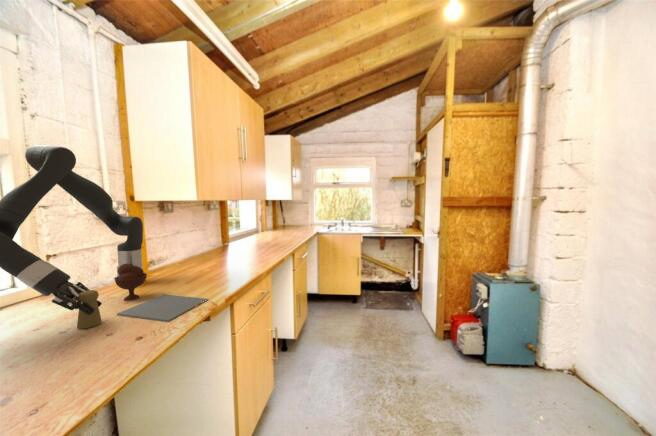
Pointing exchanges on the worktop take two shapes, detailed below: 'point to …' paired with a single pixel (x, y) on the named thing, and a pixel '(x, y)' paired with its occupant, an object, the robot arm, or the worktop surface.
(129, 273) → the ice cream bowl
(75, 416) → the worktop surface
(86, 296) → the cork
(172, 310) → the charcoal mat
